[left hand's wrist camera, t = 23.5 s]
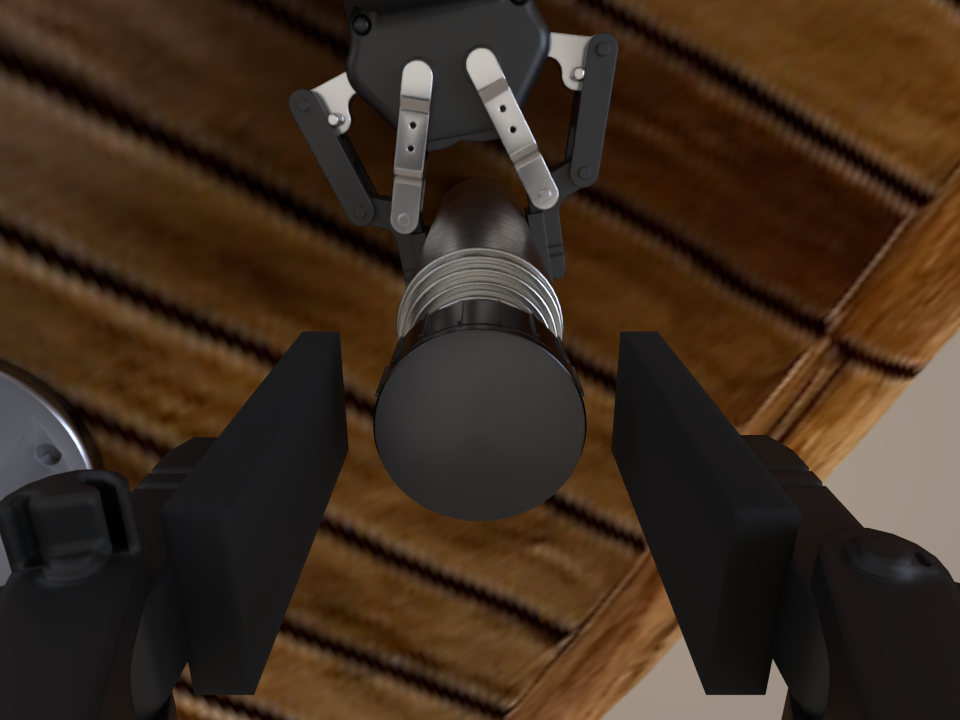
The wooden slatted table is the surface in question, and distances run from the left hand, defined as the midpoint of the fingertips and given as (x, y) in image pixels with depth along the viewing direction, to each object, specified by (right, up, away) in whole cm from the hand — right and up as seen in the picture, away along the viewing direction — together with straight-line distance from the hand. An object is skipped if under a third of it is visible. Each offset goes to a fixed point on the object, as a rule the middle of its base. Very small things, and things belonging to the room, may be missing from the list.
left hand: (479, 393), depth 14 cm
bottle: (0, +8, +22) cm, 24 cm away
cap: (0, -1, -1) cm, 1 cm away
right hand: (0, +4, +17) cm, 18 cm away
